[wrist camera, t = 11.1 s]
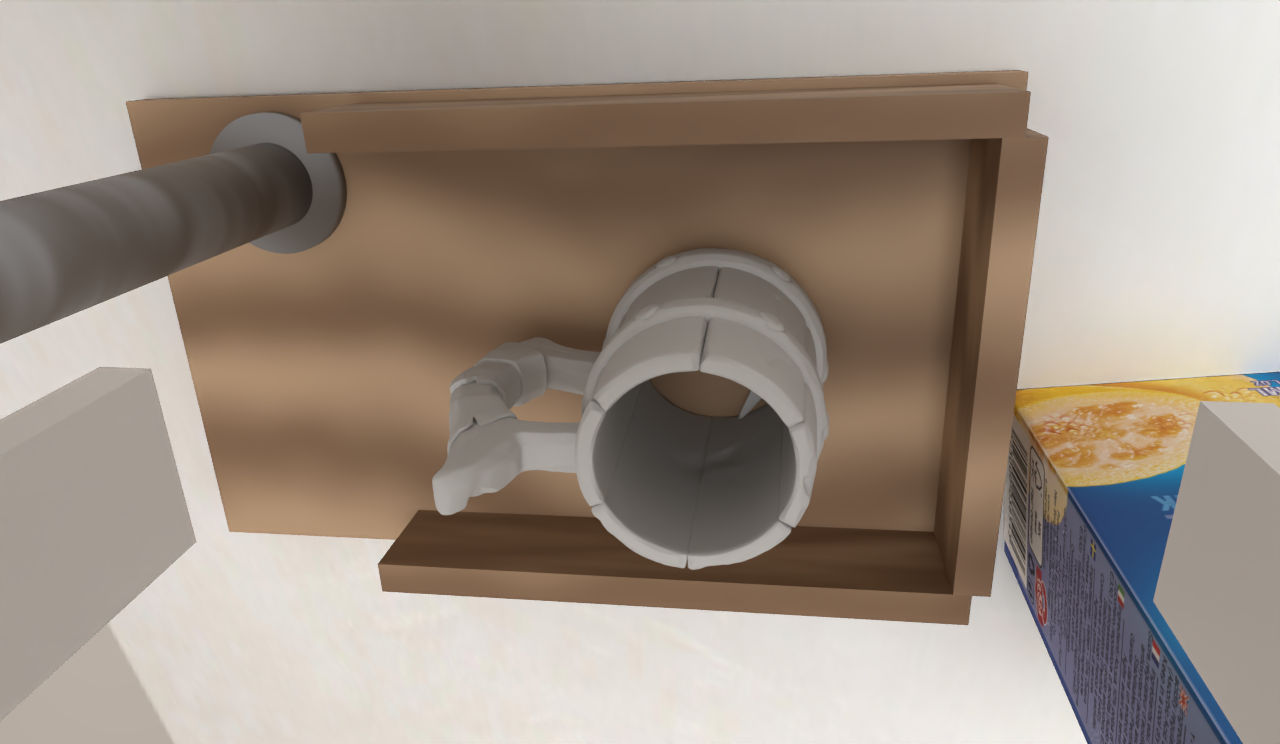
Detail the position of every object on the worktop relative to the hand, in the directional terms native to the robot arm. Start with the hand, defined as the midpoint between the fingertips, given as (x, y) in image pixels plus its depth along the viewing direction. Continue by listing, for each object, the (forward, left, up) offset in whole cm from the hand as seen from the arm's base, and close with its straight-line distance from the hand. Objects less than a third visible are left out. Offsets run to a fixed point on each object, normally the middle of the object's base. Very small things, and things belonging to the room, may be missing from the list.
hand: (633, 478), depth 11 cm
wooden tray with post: (+5, -6, -21) cm, 23 cm away
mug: (+5, -2, -20) cm, 21 cm away
